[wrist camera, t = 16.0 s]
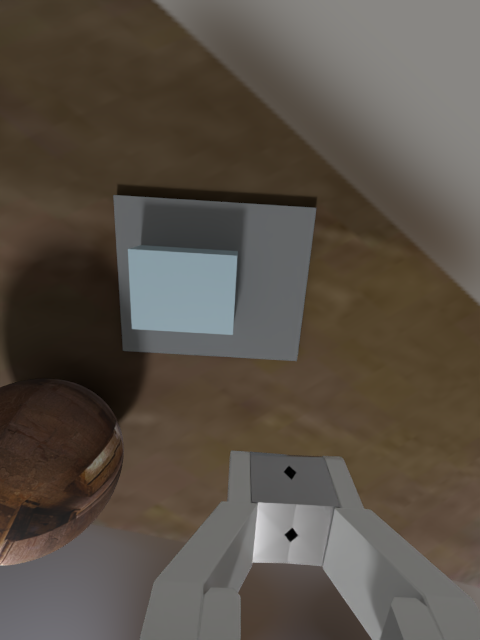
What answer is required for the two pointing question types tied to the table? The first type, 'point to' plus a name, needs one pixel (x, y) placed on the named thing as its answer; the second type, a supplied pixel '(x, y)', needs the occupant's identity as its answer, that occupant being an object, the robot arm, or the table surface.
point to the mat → (252, 271)
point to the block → (182, 289)
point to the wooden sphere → (53, 465)
